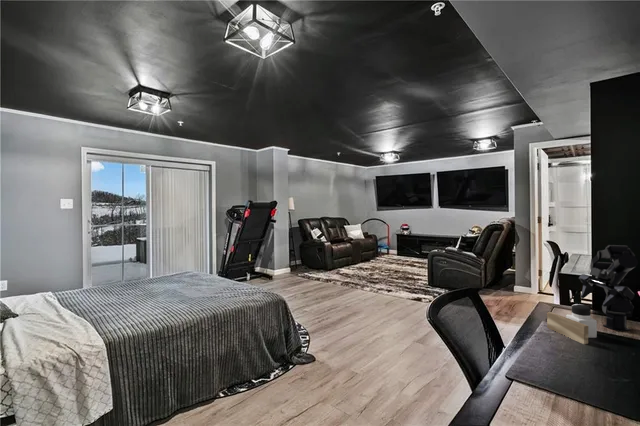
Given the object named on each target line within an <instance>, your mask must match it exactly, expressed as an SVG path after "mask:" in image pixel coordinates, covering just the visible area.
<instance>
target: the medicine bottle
mask: <svg viewBox="0 0 640 426" xmlns="http://www.w3.org/2000/svg"><path fill="white" fill-rule="evenodd" d="M591 310H592V309H591V307H590V306H589V305H586V304H580V303H579V304H578V303H575V304H572V305H571V314H566V315H565V317H566V318H569V319H571V320H574V321H577V322H579V323H582V324H585V325H587V326H588V339H589V338H593V339H595V338H597V337H598V336H597V331H598V330H597V329H598V324H597V323H598V321H597V320H596V319H595V318H592V316H591V315H592V314H591V313H592V312H591Z"/></svg>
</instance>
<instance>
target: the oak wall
mask: <svg viewBox="0 0 640 426" xmlns="http://www.w3.org/2000/svg"><path fill="white" fill-rule="evenodd" d="M546 315H547V317H546V319H547V320H546V321H547V322H546V329H547V328H549V329H548V330H550V329H551V330H550V331H552V330H554V331H556V332H555V333H557V332H558V333H557V334H559V333H560V334H559V335H561V334H563V335H562V336H564V335H565V336H564V337H566V338H568V337H569V338H568V339H570V338H571V340H573V341H576V342H577V343H580V344H582V345H588V344H589V338H588V326H587V325H585V324H582V323H579V322H577V321H574V320H571V319H569V318H566V316H563V315H561V314H557V313H555V312H552V311H548V312H547V314H546ZM554 331H553V332H554Z"/></svg>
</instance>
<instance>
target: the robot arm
mask: <svg viewBox="0 0 640 426" xmlns="http://www.w3.org/2000/svg"><path fill="white" fill-rule="evenodd" d="M601 260H610V262H606V261H605V262H604V261H601ZM638 265H639V260H638V259H637V258H636V254H635V253H634V252H633V251H632V249H631V248H629V246H628V245H620V244H619V245H616V244H608V245H607V246H605V249H602V250H598V251H597V254H596V255H595V256H594V257H593V258H592V259H590V265H589V267H590V268H589V269H590V272H589V275H588V274H585V273H582V274H580V275H579V277H578V280H580V283H582V289H581V295H580V298H581V299H585V298H586V297H587V296H588V295H590V294H591V293H592V292H594V291H595V288H596V287H600V288H603V289H604V292H605V294H606V295H605V300H603V303H602V305H601V309H602V312H603V313H604V314H605V315H606V318H605V319H606V322H605V324H603V325H602V327H604V328H608V329H611V330H613V331H616V332H626V331H631V328H629V327H627V317H629V318H632V317H633V312H634V308H635V306H634V305H633V302H631V301H632V300H634V298H635V293H634V292H633V291H632V290H631V289H630V287H628V286H626V285H622V284H620V283H624V282H625V280H624V278H625V277H626V276H627V274H628V273H629V272H630V271H632V270H633V269H635V268H636V267H637V266H638ZM593 276H594V277H595V278H594V277H593Z"/></svg>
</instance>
